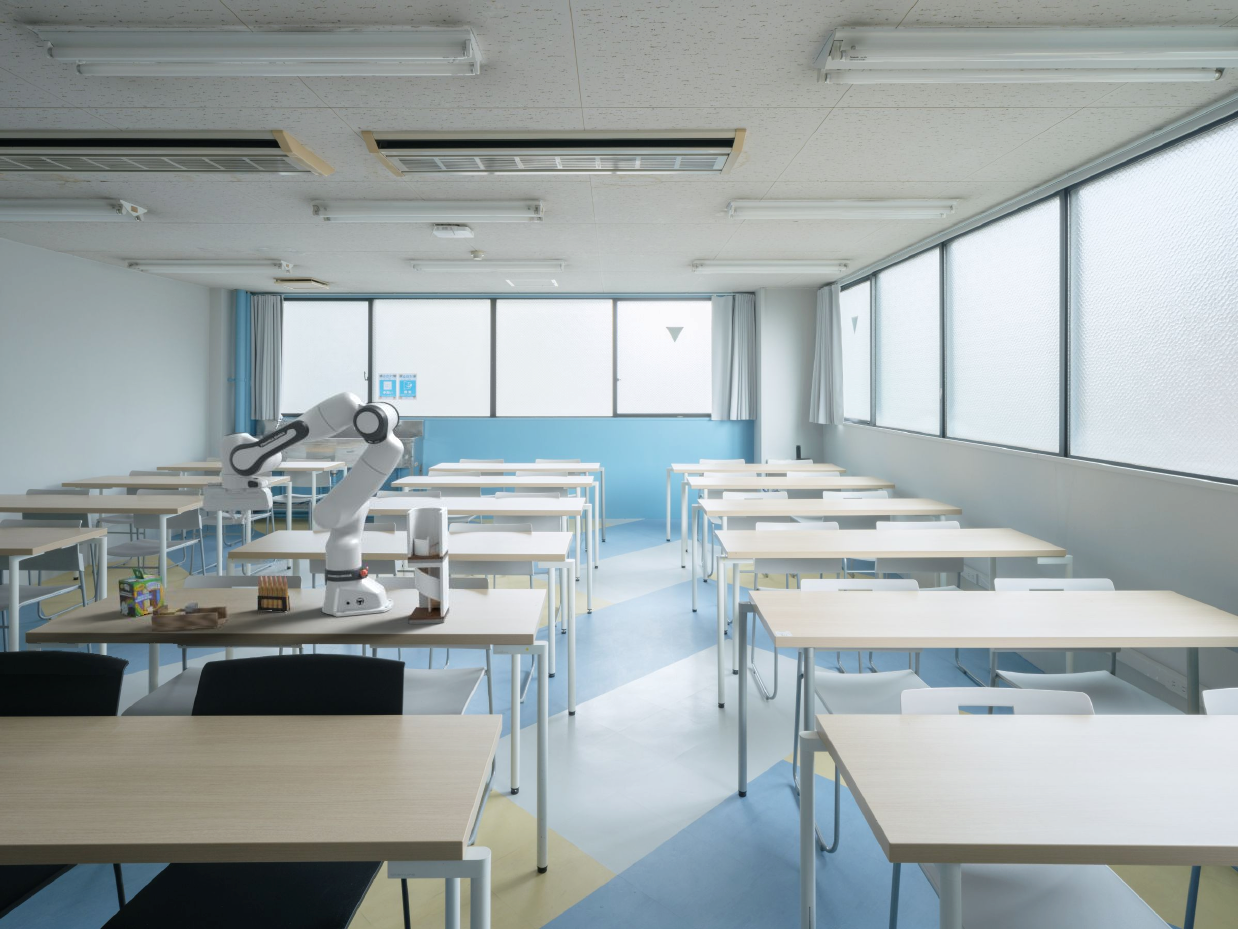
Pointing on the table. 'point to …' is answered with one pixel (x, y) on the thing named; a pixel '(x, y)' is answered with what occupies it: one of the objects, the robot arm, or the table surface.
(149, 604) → the chalk box
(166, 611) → the spacer
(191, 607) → the grey metal block
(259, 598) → the ammunition clip
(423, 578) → the spiral staircase model
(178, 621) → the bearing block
